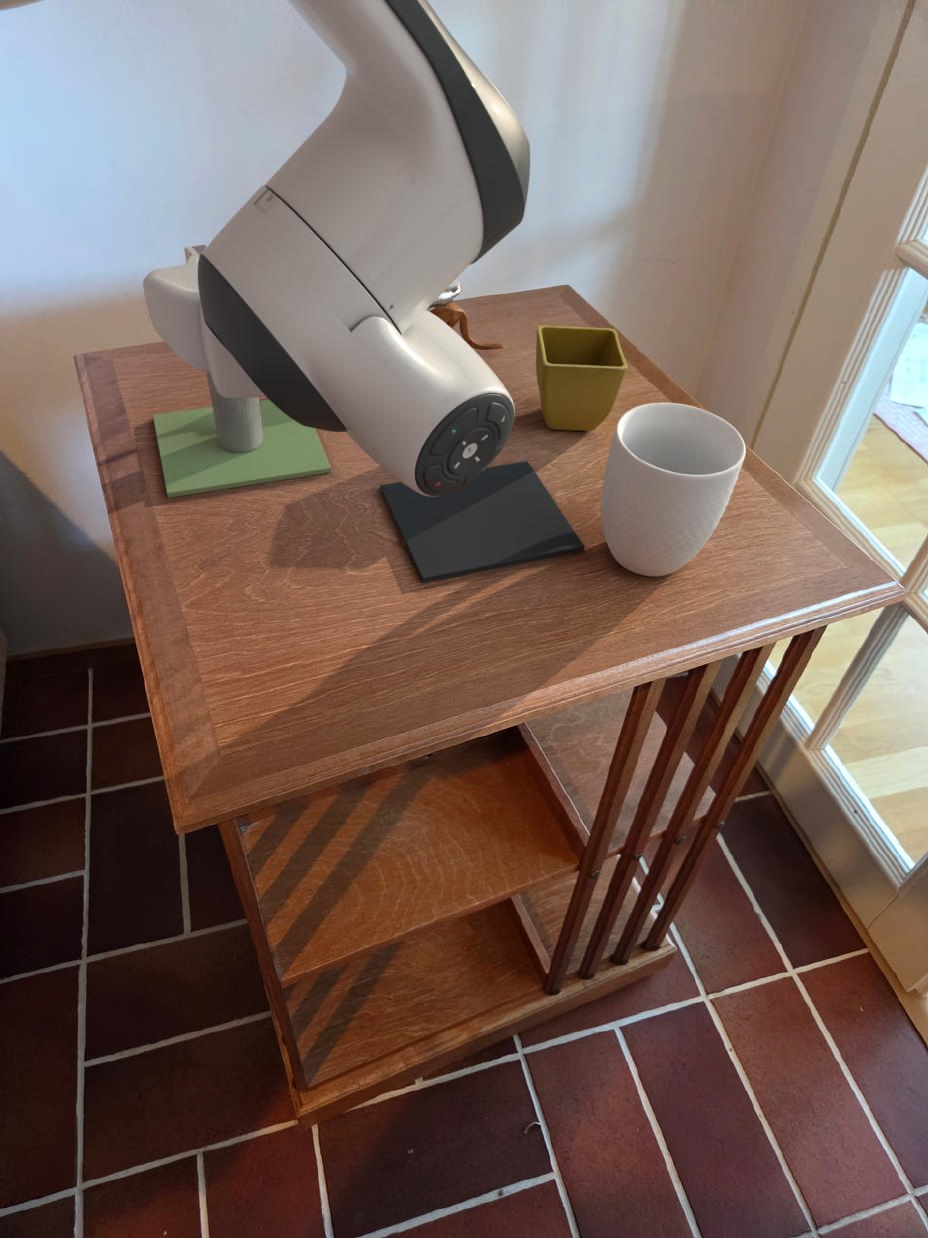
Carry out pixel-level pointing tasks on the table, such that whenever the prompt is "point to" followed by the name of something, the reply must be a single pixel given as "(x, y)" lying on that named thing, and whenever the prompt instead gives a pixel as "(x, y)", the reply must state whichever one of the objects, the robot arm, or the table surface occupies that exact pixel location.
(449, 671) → the table surface
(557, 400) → the flower pot
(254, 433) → the planter
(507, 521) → the slate mat
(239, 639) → the table surface
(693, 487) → the mug
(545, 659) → the table surface
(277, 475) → the sage mat
